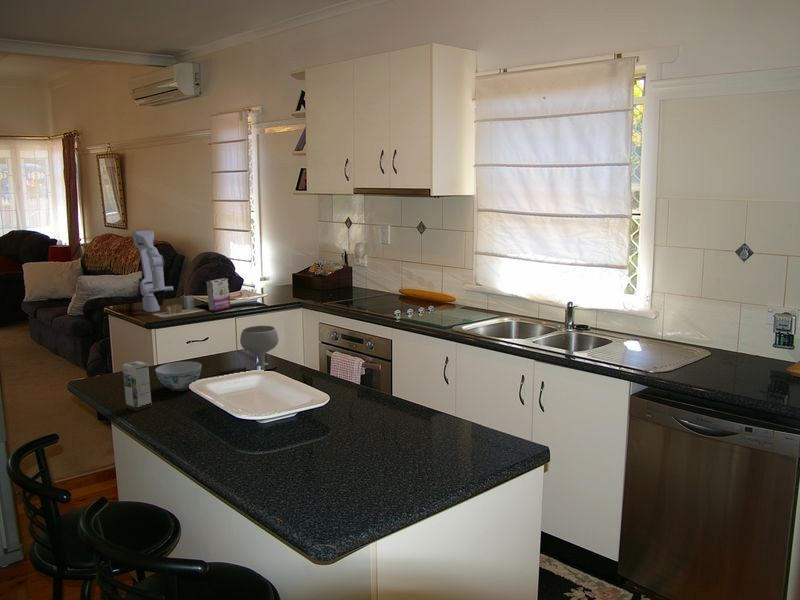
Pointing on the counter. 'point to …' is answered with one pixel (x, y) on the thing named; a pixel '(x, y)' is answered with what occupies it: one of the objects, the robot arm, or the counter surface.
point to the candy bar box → (218, 294)
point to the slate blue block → (189, 302)
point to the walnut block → (174, 309)
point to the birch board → (178, 313)
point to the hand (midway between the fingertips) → (160, 305)
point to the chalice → (259, 341)
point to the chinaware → (178, 374)
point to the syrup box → (137, 383)
